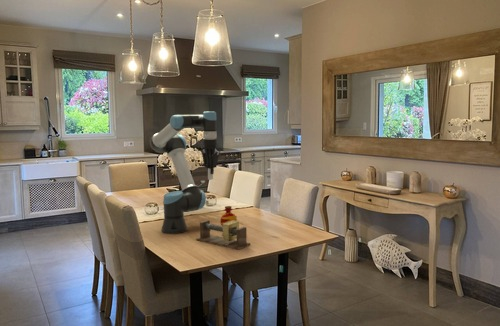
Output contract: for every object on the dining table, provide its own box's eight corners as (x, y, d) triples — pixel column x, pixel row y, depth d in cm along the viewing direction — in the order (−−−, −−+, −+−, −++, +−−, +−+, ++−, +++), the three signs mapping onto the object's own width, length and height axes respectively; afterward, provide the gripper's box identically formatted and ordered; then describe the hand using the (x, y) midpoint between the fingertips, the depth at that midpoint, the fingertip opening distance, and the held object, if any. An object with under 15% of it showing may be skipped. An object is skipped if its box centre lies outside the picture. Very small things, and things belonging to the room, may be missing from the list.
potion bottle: (222, 234, 236) (221, 209, 235) (218, 229, 246) (218, 205, 245) (239, 232, 239) (239, 207, 237) (235, 228, 249) (235, 204, 247)
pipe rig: (196, 240, 226) (196, 222, 225) (208, 235, 234) (208, 218, 233) (239, 250, 208) (238, 231, 207) (250, 244, 216) (250, 226, 215)
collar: (222, 240, 215) (222, 224, 214) (233, 236, 222) (233, 220, 221) (228, 241, 212) (228, 225, 211) (239, 237, 220) (238, 221, 219)
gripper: (197, 138, 231) (197, 179, 235) (214, 139, 224) (214, 181, 227) (206, 137, 237) (206, 177, 241) (223, 138, 230) (223, 179, 233)
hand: (210, 179), depth 234 cm, fingers closed
